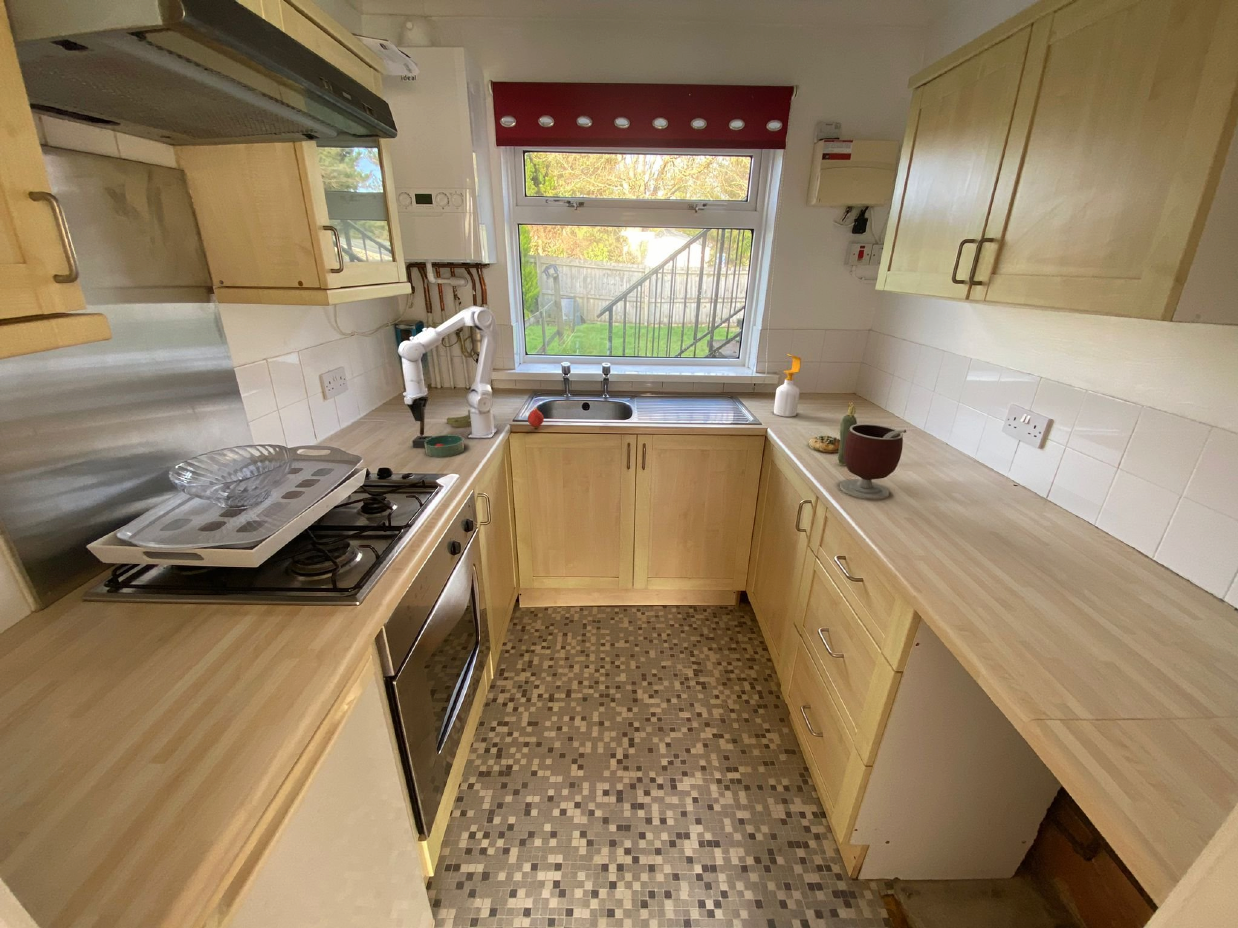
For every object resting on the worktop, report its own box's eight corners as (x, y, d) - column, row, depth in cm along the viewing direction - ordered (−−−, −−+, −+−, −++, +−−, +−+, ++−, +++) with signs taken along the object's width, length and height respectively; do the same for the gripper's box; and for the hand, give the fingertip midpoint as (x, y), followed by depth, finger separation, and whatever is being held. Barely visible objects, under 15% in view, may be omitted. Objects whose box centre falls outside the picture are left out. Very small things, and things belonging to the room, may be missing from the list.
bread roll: (846, 445, 174) (847, 432, 171) (838, 459, 166) (839, 445, 163) (812, 441, 180) (813, 428, 177) (803, 453, 172) (804, 440, 169)
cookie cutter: (474, 413, 208) (473, 408, 207) (497, 417, 203) (497, 412, 203) (442, 424, 193) (441, 419, 192) (466, 429, 188) (466, 424, 188)
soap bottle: (768, 412, 213) (776, 353, 204) (785, 410, 217) (793, 352, 208) (783, 418, 206) (791, 357, 197) (801, 415, 209) (809, 355, 200)
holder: (418, 442, 174) (417, 435, 173) (433, 443, 174) (432, 436, 173) (413, 447, 169) (412, 440, 168) (428, 447, 169) (427, 440, 168)
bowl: (433, 444, 172) (431, 434, 171) (468, 444, 172) (467, 435, 171) (420, 457, 161) (418, 446, 160) (458, 457, 161) (456, 446, 160)
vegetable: (850, 468, 155) (862, 405, 148) (835, 467, 156) (846, 404, 148) (846, 463, 159) (858, 401, 152) (832, 462, 160) (843, 400, 152)
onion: (525, 429, 189) (523, 408, 186) (534, 425, 194) (533, 404, 191) (537, 431, 186) (536, 410, 183) (547, 427, 191) (546, 406, 188)
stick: (420, 434, 171) (421, 406, 167) (424, 435, 171) (425, 406, 167) (418, 435, 169) (419, 407, 166) (423, 436, 169) (424, 408, 166)
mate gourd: (825, 483, 144) (837, 415, 137) (863, 477, 149) (877, 411, 141) (868, 506, 131) (884, 432, 123) (908, 498, 135) (926, 427, 128)
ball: (431, 447, 160) (434, 455, 162) (440, 446, 160) (443, 455, 162) (435, 442, 163) (438, 450, 165) (444, 442, 163) (446, 450, 164)
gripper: (410, 374, 170) (415, 413, 175) (392, 384, 156) (398, 426, 161) (431, 374, 170) (436, 414, 175) (415, 384, 156) (421, 426, 161)
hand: (419, 420), depth 168 cm, fingers closed on stick, 1 cm apart
